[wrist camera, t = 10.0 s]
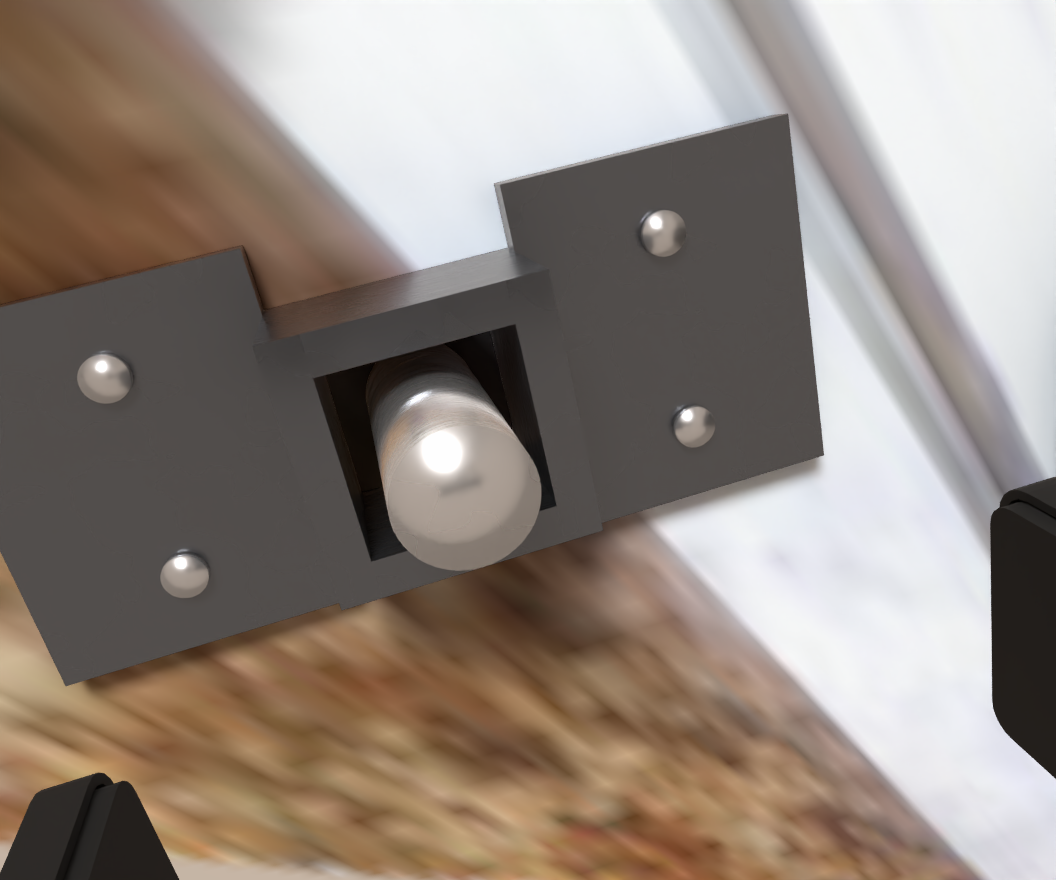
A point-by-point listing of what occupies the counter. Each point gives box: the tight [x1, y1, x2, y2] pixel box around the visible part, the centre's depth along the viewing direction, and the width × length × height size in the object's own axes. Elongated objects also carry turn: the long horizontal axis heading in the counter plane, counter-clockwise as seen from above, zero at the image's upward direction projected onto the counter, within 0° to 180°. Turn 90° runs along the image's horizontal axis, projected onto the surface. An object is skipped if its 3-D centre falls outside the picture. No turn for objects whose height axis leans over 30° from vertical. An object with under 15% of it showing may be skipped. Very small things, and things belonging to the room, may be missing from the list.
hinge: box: [0, 114, 824, 686], centre depth 22 cm, size 23×10×4 cm, turn 103°
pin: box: [366, 344, 541, 570], centre depth 21 cm, size 3×3×8 cm
